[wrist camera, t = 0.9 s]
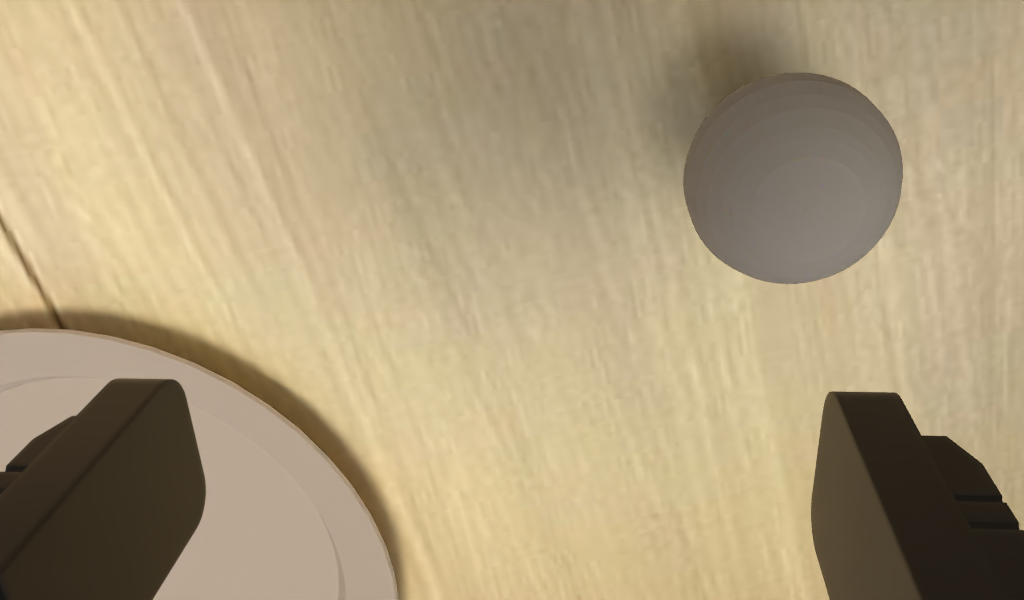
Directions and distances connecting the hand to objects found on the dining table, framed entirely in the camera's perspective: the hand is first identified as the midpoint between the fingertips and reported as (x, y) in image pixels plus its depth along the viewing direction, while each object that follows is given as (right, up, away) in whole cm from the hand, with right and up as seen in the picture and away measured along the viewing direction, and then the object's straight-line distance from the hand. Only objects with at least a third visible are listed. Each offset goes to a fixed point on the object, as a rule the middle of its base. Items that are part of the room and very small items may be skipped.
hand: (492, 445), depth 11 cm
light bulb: (+8, +8, +19) cm, 22 cm away
